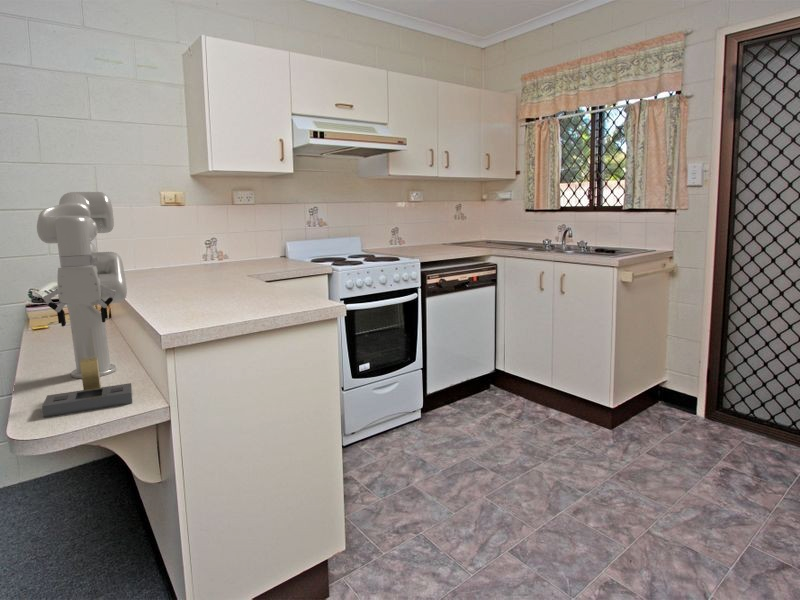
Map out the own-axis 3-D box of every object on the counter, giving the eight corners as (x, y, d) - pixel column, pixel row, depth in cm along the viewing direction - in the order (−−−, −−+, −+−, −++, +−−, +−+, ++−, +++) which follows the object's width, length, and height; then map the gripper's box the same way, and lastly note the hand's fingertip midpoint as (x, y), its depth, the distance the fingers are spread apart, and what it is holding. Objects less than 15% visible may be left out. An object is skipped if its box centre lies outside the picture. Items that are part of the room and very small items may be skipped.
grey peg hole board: (48, 406, 141) (47, 395, 140) (132, 393, 149) (131, 382, 149) (43, 417, 133) (42, 406, 132) (132, 403, 141) (131, 392, 141)
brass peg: (85, 392, 151) (81, 358, 149) (101, 390, 152) (97, 356, 151) (84, 396, 147) (80, 362, 145) (100, 394, 149) (96, 360, 147)
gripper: (112, 259, 150) (119, 317, 153) (40, 263, 143) (49, 324, 145) (111, 261, 144) (118, 322, 146) (36, 265, 136) (45, 329, 139)
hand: (84, 323), depth 146 cm, fingers open, 9 cm apart
